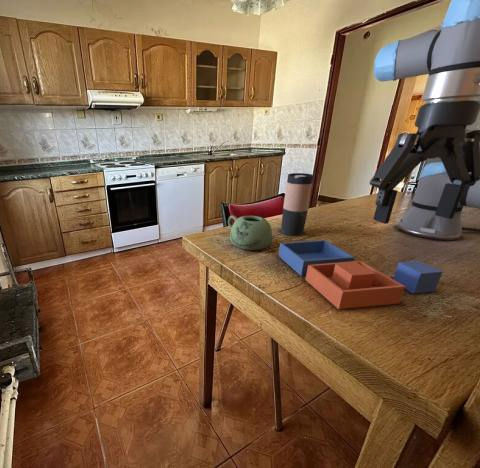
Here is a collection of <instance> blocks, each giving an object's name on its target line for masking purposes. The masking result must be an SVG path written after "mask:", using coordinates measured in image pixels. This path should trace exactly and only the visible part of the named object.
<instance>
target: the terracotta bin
mask: <svg viewBox="0 0 480 468" xmlns="http://www.w3.org/2000/svg"><path fill="white" fill-rule="evenodd" d="M343 263H358V264H360V265H361V266H363V267H365V268H366V269H368V270H370V271H371V272H373V273H375V275H374V279H373V282H372V285H371V288H363V289H352V290H343V289H341V288H340V287H339V286H337V285H336V284H335V283H333V282H332V277H333V272H334V268H335V264H343ZM393 279H394V278H391V277H390V276H388V275H386V274H385V273H383V272H381V271H380V270H378V269H376V268H374V267H372V266H371V265H369V264H367V263H366V262H364V261H363V260H354V261H351V262H339V263H326V264H314V265H308V269H307V274H306V276H305V281H306V282H307V283H308V284H309V285H311V286H312V287H313V288H314V289H315V290H316V291H317V292H318V293H319V294H320V295H322V296H323V297H324V298H325V299H327V301H329V302H330V303H331V304H332V305H333V306H334V307H335V308H336V309H337V310H345V309H354V308H355V309H356V308H366V307H377V306H378V307H379V306H388V305H397V304H400V303H401V300H402V298H403V294H404V292H405V290H406V289H405V286H404V285H402V284H400V283H398V282H397V281H395V280H393Z"/></svg>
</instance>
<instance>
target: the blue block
mask: <svg viewBox="0 0 480 468" xmlns="http://www.w3.org/2000/svg"><path fill="white" fill-rule="evenodd" d="M442 275H443V271H442V270H440V269H438V268H436V267H434V266H431V265H430V264H426V263H425V262H422V261H420V260H411V261H399V262H398V264H397V267H396V270H395V273H394V276H393V278H392V279H393V280H395V281H397V282H398V283H400V284H402V285H404V286H405V289H404V290H406V291H408V292H410V293H411V294H424V293H434V292H436V289H437V287H438V285H439V282H440V280H441V277H442Z"/></svg>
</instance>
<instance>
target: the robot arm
mask: <svg viewBox="0 0 480 468" xmlns="http://www.w3.org/2000/svg"><path fill="white" fill-rule="evenodd" d="M426 75H428V76H427V79H426V83H425V86H424V89H423V92H422V95H421V98H420V100H421V102H424V104H421V105H420V106H419V107H418V111H417V113H416V118H415V120H414V126H415V127H417V130H416V132H411V133H410V132H404V133H403V132H402V133H401V132H400V133H399V134H398V136H397V137H396V141H395V143H394V146H393V147H392V149H391V150H390V151H389V152H388V154H387V156H386V157H385V159H384V161H383V162H382V163H381V164H380V166H379V168H378V169H377V170H376V172H375V173H374V174H373V176H372V178H371V179H370V181H369V185H370V186H372V187H374V188H377V189H378V191H377V194H376V199H375V202H374V203H375V205H376V207H375V211H374V215H373V219H372V220H373V221H375V222H379V223H381V224H384V225H388V224H389V223H390V219H391V217H392V212H393V208H394V206H395V202H396V199H397V194H398V192H399V191H398V190H397V189H396V188H397V186H399V184H400V183H402V181H403V180H405V178H406V177H407V176H408V175H410V174H411V173H412V172H413V171H414V170H415V169H416V168H417V167H419V165H420V164H421V163H422V162H425V161H427V160H428V159H429V160H430V159H436V158H438V159H440V160H441V161H437V162H436V161H435V162H430V163H427V164H426V165H425V166H424V167H423V169H422V171H421V174H420V176H419V177H418V178H419V179H418V182H417V186H416V189H415V193H414V196H413V200H412V202H411V205H410V207H409V208H408V210H407V211H406V212H405V214H404V215H402V217H401V218H400V219H399V222H398V224H397V229H398V230H399V231H401V232H403V233H405V234H408V235H411V236H414V237H417V238H423V239H429V240H437V241H456V240H459V239H460V238H461V236H462V234H463V231H467V232H475V233H478V232H479V233H480V228H475V227H467V226H466V227H465V226H462V211H463V208H464V207H468V208H474V209H480V129H467V127H468V126H471V125H473V124H475V123H476V121H477V120H478V119H477V118H478V116H479V113H480V100H479V98H480V0H451V1H450V3H449V6H448V8H447V11H446V14H445V16H444V19H443V22H442V23H441V24H439V25H438V26H435V27H432V28H430V29H428V30H425V31H423V32H421V33H419V34H416V35H413V36H411V37H408V38H404V39H398V40H396V41H395V42H391V43H388V44H385V45H384V46H383V47H381V49H380V50H379V51H378V52H377V54H376V56H375V58H374V63H373V76H374V78H375V79H376V80H377V82H391V81H393V82H396V81H397V80H403V79H408V78H415V77H420V76H426Z"/></svg>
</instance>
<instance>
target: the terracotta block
mask: <svg viewBox="0 0 480 468" xmlns="http://www.w3.org/2000/svg"><path fill="white" fill-rule="evenodd" d="M374 275H375V273H373V272H371V271H370V270H368V269H366V268H365V267H363V266H361V265H360V264H358V263H343V264H335V268H334V272H333V277H332V282H333V283H335V284H336V285H337V286H339V287H340V288H341V289H343V290H352V289H363V288H371V285H372V282H373V279H374Z"/></svg>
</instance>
